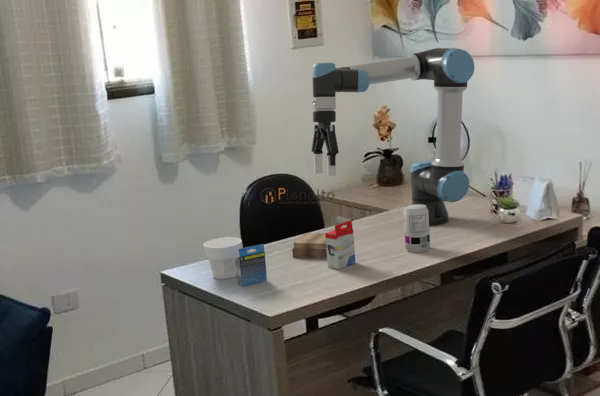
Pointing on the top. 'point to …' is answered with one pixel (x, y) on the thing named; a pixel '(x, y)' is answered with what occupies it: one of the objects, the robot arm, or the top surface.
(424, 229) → the supplement can
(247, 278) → the label tape box
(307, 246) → the pedestal
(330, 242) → the ink box
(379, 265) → the top surface
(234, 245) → the cup
